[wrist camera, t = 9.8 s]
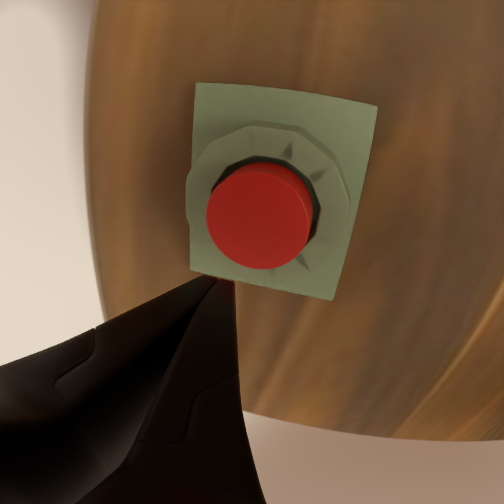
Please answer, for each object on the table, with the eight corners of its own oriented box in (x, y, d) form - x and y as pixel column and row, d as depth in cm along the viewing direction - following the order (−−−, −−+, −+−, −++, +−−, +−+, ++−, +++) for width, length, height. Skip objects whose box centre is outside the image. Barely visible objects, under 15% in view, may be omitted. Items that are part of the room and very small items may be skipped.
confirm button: (303, 258, 14) (299, 279, 13) (217, 240, 15) (204, 259, 13) (320, 170, 12) (318, 182, 11) (222, 155, 13) (207, 164, 11)
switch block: (333, 293, 17) (331, 323, 15) (194, 264, 18) (176, 288, 16) (376, 105, 12) (385, 108, 10) (201, 82, 13) (177, 82, 11)
